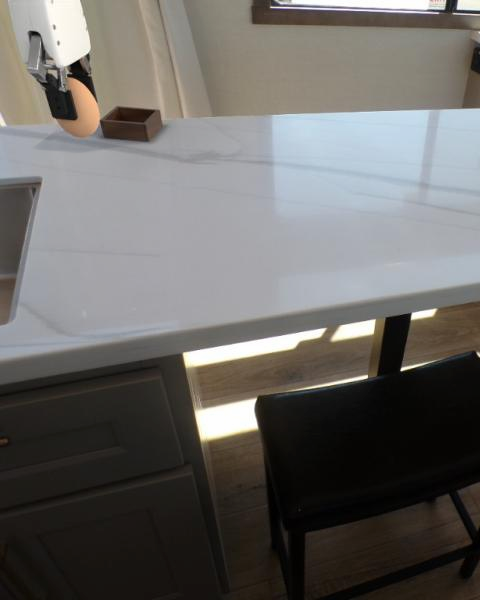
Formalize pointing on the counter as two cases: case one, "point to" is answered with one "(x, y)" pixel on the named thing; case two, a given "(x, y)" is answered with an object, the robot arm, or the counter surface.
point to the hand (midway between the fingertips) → (75, 109)
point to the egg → (81, 111)
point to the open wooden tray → (131, 123)
